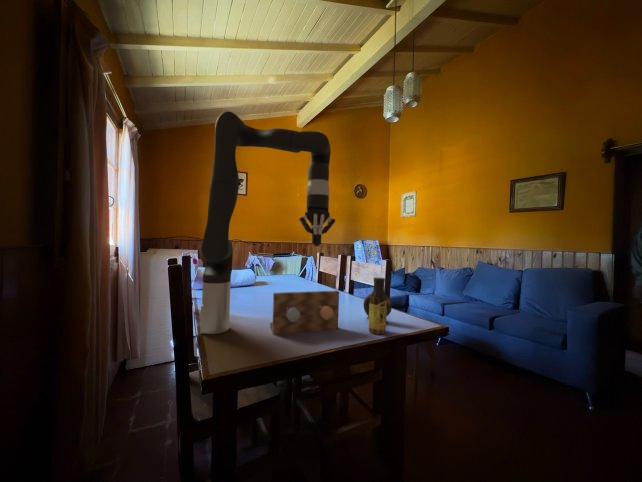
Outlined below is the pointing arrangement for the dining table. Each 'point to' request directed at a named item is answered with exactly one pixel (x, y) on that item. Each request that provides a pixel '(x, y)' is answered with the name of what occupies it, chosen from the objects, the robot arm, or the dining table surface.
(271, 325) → the walnut panel
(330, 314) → the terracotta button
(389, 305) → the alarm clock
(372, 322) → the sauce bottle
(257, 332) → the dining table surface
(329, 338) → the dining table surface
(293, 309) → the slate button
